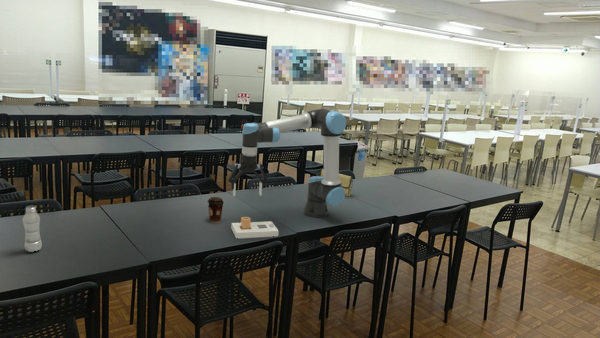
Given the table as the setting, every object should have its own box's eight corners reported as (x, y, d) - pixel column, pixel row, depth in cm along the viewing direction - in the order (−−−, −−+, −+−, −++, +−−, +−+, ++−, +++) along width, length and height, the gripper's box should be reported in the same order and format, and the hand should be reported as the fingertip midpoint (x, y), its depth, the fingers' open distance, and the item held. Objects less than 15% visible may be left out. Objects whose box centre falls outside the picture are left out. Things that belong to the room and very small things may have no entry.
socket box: (271, 226, 241) (271, 220, 240) (278, 236, 228) (278, 229, 227) (231, 228, 234) (231, 222, 233) (236, 238, 221) (236, 231, 220)
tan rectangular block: (247, 231, 232) (248, 216, 230) (249, 233, 228) (250, 219, 226) (240, 231, 230) (241, 217, 228) (242, 234, 227) (243, 219, 225)
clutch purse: (313, 189, 320) (315, 169, 317) (319, 187, 326) (321, 168, 322) (347, 199, 302) (349, 178, 299) (353, 197, 307) (355, 177, 304)
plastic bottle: (45, 247, 194) (42, 205, 189) (36, 254, 187) (34, 210, 183) (30, 247, 194) (27, 204, 189) (21, 253, 187) (18, 209, 182)
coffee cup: (207, 223, 237) (208, 201, 234) (206, 218, 245) (207, 196, 242) (223, 223, 240) (224, 200, 237) (222, 218, 247) (222, 196, 244)
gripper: (271, 153, 227) (268, 192, 232) (223, 152, 219) (221, 193, 224) (275, 156, 220) (272, 196, 225) (225, 156, 212) (224, 197, 217)
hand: (247, 195), depth 224 cm, fingers open, 13 cm apart
